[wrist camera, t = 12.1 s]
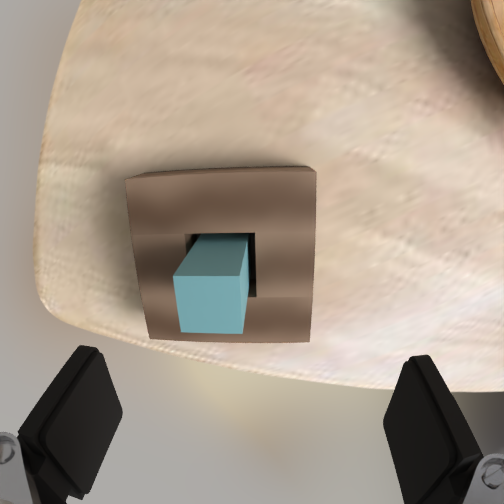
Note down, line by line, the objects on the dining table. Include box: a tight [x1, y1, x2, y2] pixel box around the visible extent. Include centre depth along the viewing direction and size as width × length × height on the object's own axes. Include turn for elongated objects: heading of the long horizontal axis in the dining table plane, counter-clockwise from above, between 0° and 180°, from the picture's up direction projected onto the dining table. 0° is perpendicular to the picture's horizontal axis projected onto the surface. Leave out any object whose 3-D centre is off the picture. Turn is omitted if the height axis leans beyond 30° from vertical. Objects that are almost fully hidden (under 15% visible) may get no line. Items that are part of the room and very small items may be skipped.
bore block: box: [125, 166, 316, 343], centre depth 30 cm, size 16×16×5 cm
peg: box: [173, 233, 251, 334], centre depth 27 cm, size 4×4×11 cm
